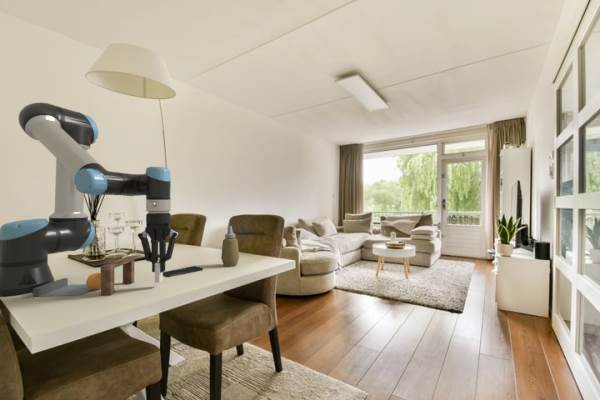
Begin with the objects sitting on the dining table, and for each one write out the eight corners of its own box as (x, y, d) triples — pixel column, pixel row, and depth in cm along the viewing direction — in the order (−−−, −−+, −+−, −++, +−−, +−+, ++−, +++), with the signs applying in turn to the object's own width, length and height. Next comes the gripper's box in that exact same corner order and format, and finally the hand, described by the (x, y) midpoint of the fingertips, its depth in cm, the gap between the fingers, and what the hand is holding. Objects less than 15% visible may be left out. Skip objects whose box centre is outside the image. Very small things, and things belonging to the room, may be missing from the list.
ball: (99, 292, 90) (81, 291, 90) (109, 286, 96) (92, 286, 95) (100, 275, 90) (82, 274, 90) (110, 270, 96) (93, 270, 95)
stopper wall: (33, 296, 86) (33, 288, 86) (62, 285, 98) (62, 278, 98) (38, 296, 86) (38, 288, 86) (67, 285, 98) (67, 278, 98)
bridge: (100, 295, 86) (100, 265, 86) (125, 282, 101) (125, 257, 101) (110, 295, 86) (110, 265, 87) (134, 282, 101) (134, 256, 101)
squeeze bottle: (237, 267, 123) (236, 226, 123) (218, 267, 123) (218, 227, 123) (241, 263, 131) (240, 225, 131) (224, 263, 131) (223, 225, 132)
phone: (204, 268, 119) (168, 275, 107) (204, 271, 119) (168, 278, 107) (194, 265, 124) (159, 272, 113) (194, 268, 124) (159, 275, 113)
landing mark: (40, 296, 86) (40, 295, 86) (68, 285, 98) (68, 284, 98) (81, 295, 87) (81, 294, 87) (104, 284, 99) (104, 283, 99)
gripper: (133, 213, 91) (133, 285, 90) (174, 212, 92) (174, 283, 92) (143, 212, 98) (144, 279, 98) (181, 211, 99) (182, 277, 99)
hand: (158, 281), depth 95 cm, fingers closed
